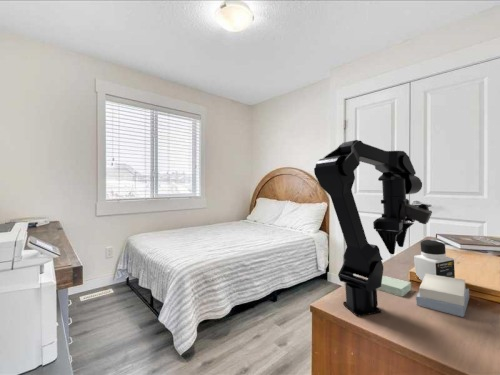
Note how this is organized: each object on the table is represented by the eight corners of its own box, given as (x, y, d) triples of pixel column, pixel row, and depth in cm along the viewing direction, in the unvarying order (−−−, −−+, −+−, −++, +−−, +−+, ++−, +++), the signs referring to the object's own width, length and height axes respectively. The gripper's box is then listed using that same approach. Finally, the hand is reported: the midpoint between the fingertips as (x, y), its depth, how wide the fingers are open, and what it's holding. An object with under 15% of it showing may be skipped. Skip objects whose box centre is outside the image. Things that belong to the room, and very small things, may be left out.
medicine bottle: (437, 286, 71) (434, 245, 71) (414, 278, 78) (412, 240, 78) (455, 282, 73) (453, 241, 73) (432, 274, 80) (430, 237, 80)
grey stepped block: (464, 317, 56) (463, 297, 56) (416, 304, 63) (415, 287, 62) (469, 297, 64) (468, 280, 64) (427, 288, 71) (426, 272, 71)
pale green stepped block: (366, 287, 75) (365, 279, 75) (376, 281, 79) (375, 273, 79) (402, 298, 67) (401, 289, 67) (411, 291, 71) (410, 282, 71)
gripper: (420, 198, 59) (423, 263, 59) (434, 193, 73) (436, 247, 73) (371, 198, 67) (374, 256, 67) (391, 194, 80) (394, 242, 80)
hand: (396, 250), depth 72 cm, fingers open, 9 cm apart
